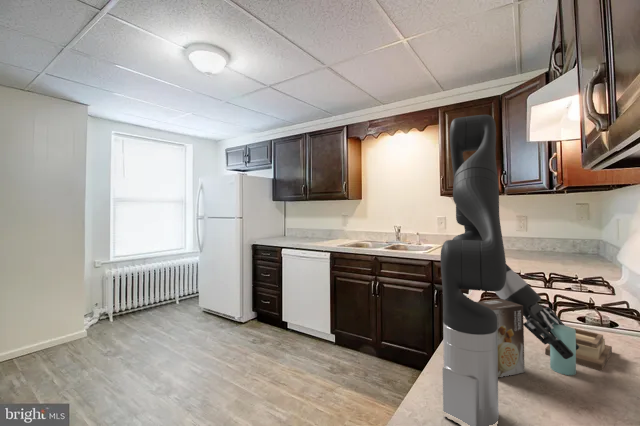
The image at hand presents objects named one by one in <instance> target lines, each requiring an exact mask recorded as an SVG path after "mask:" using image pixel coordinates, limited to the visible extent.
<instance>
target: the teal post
mask: <svg viewBox="0 0 640 426" xmlns="http://www.w3.org/2000/svg"><path fill="white" fill-rule="evenodd" d="M552 326H553V328H554V330H553V331H554V332H555V334H556V335H557V336H558V338H559V340H561V341H562V342H563V343H564V344H565V345H566V346H567V347H568V348H569V349H570V350H571V351H572V352H573V354H574V355H573V356H572V357H570V358H568V359H564V358H563V357H562V356H561V355H560V354H559V353H558V351H557V350H556V349H555V348H554V347H553V346H552V345H550V355H549V357H550V358H549V360H550V363H549V365H550V369H551V370H552V371H554V372H555V373H558V374H560V373H561V375H564V374H565V376H574V375H577V363H576V330H575V329H574V327H571V326H567V325H565V324H564V325H558V324H553V325H552ZM559 340H558V341H559Z"/></svg>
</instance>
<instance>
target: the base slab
mask: <svg viewBox="0 0 640 426" xmlns="http://www.w3.org/2000/svg"><path fill="white" fill-rule="evenodd" d="M573 328H574V327H573ZM574 329H575V330H576V343H577V344H578V346H579V349H577V350H576V365H581V366H584V367H587V368H590V369H594V370H597V371H603V370H604V367H605V365H606V364H607V362H608V360H609V359H610V356H611V354H612V353H613V346H611V345H608V344H606V338H604V334H602V333H597V332H593V331H589V330H583V329H578V328H576V327H575V328H574ZM544 350H545V352H544V353H545V355H546V356H550V345H549V344H547V346H546V347H545V349H544Z"/></svg>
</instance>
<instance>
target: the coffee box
mask: <svg viewBox="0 0 640 426" xmlns="http://www.w3.org/2000/svg"><path fill="white" fill-rule="evenodd" d="M476 302H477V303H479V304H481V305H484V306H486V307H488V308H490V309H491V310H492V311H494V312H495V314H496V316H497V334H498V377H501V378H504V377H503V376H505V377H508V376H509V375H510V376H512V375H518V374H522V373H525V368H526V367H525V335H524V334H525V331H524V329H525V328H524V327H525V326H524V323H525V322H524V315H523V305H520V304H516V303H513V302H510V301H507V300H504V299H501V298H496V299H487V300H482V301H481V300H480V301H479V300H478V301H476Z"/></svg>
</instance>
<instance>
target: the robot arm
mask: <svg viewBox="0 0 640 426" xmlns="http://www.w3.org/2000/svg"><path fill="white" fill-rule="evenodd" d="M496 125H497V124H496V121H495V119H494V117H493V116H492V115H490V114H479V115H469V116H461V117H456V118H454V119H452V120H451V123H450V126H449V127H450V128H449V146H450V155H451V157H450V158H451V166H452V173H453V186H452V198H453V199H452V201H453V202H454V204H455V219H456V223H457V224H458V225H460V226H463V228H464V233H461V234H458V235H455V236H454V237H453V238H452V239H448V240H446V241H444V242H443V243H442V245H441V250H440V272H441V284H442V285H441V286H442V326H443V329H442V330H443V331H442V333H443V334H442V335H443V336H442V337H443V367H442V411H444V412H446V413H448V414H450V415H452V416H454V417H456V418H458V419H460V420H462V421H463V422H465V423H467V424H468V425H470V426H489V425H493V424H495V423H496V422H497V421H498V419H499V378H498V334H497V316H496V314H495V312H494V311H492V310H491V309H490V308H488V307H486V306H484V305H481V304H479V303H477V302H478V301H474V300H473V299H471V298H470V297H468V296H467V295H465V294H464V293H463V292H462V290H470V291H478V292H479V291H483V292H494V293H495V294H496V296H497V297H498V298H499V299H504V300H507V301H510V302H513V303H516V304H520V305H523V318H525V320H526V321H525V322H523V323H524V327H525V328H526V329H527V330H528V331H529V332H530V333H531V334H532V335H534V337H536V339H538V340H539V341H540V342H542V344H544V345H552V346H553V347H554V348H555V349H556V350H557V351H558V353H559V354H560V355H561V356H562V357H563V358H564V359H568V358H570V357H572V356H573V355H574V354H573V352H572V351H571V350H570V349H569V348H568V347H567V346H566V345H565V344H564V343H563V342H562V341H561V340H559V338H558V336H557V335H556V334H555V332H554V331H553V330H554V328H553V326H552V325H553V324H558V325H565V324H564V322H563V321H562V320H561V319H560V318H559V316H558V315H557V314H556V313H555V312H554V311H553V309H552V308H551V307H549V306H547V307H545V308H544V307H543V306H542V305H541V304H539V303H538V302H541V300H542V296H541V295H539V294H538V293H537V291H536V290H534V289H533V287H532V286H531V285H529V284H528V283H527V281H525V280H524V279H523V278H522V277H521V276H520V275H519V274H518V273H516V272H515V271H514V270H513V269H512V268H511V267H510V266H509V265H508V264H507V262H506V261H507V260H506V252H505V246H504V245H505V244H504V240H503V235H502V234H503V233H502V227H501V221H500V220H501V219H500V188H499V186H500V185H499V177H498V169H497V168H498V167H497V161H496V159H497V158H496V149H497V147H496V146H497V145H496V144H497V127H496ZM474 151H475V152H474ZM465 152H474V153H473V154H472V155H470V157H468V158H466V160H465V159H464V153H465ZM558 340H559V341H558ZM577 349H579V346H578V344H577V343H576V350H577Z"/></svg>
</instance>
